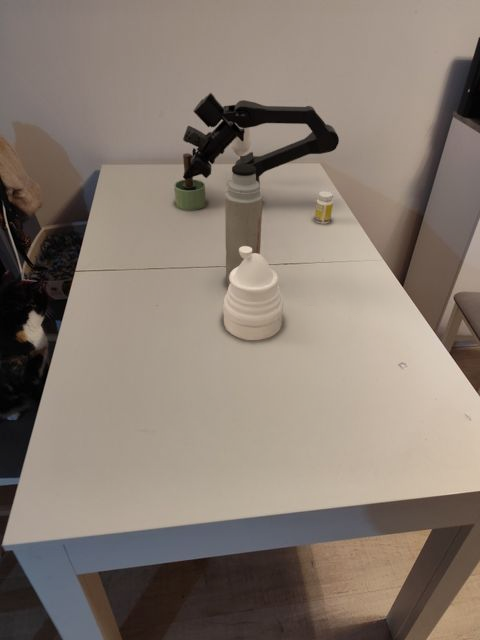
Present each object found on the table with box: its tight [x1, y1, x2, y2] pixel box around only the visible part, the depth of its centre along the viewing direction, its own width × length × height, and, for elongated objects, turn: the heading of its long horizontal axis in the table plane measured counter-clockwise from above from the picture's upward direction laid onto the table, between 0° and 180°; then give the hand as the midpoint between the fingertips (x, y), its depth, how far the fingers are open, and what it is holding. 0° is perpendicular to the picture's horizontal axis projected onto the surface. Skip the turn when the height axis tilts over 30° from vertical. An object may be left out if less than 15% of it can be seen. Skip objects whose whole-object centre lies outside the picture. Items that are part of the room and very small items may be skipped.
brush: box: [182, 152, 196, 191], centre depth 136 cm, size 4×4×13 cm
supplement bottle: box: [314, 190, 334, 225], centre depth 134 cm, size 5×5×8 cm
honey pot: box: [222, 246, 284, 341], centre depth 92 cm, size 13×13×18 cm
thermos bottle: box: [224, 164, 264, 288], centre depth 100 cm, size 8×8×28 cm
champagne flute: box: [229, 123, 251, 160], centre depth 146 cm, size 7×7×24 cm
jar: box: [173, 178, 207, 211], centre depth 139 cm, size 9×9×6 cm
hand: (184, 176), depth 136 cm, fingers closed on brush, 2 cm apart
